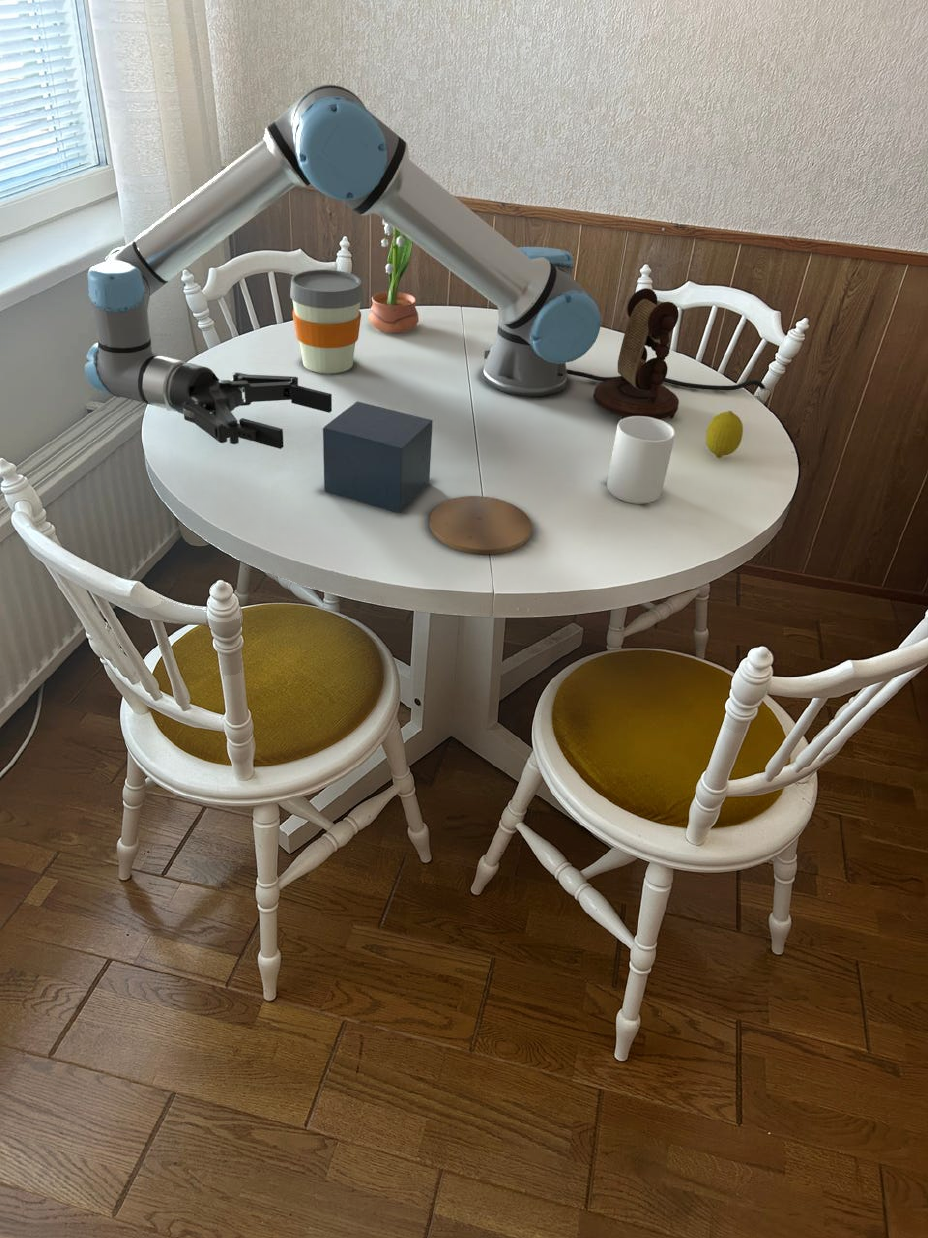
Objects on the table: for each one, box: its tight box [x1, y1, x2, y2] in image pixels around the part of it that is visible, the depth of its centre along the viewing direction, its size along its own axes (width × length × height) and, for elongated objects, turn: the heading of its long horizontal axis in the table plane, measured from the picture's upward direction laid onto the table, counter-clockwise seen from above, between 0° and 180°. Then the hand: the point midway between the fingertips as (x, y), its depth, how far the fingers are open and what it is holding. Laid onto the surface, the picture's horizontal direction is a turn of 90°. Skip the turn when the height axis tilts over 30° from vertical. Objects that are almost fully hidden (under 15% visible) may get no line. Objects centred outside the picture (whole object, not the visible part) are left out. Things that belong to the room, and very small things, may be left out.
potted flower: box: [368, 219, 419, 334], centre depth 177 cm, size 12×10×25 cm
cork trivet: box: [429, 495, 532, 555], centre depth 127 cm, size 14×14×1 cm
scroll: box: [592, 287, 680, 420], centre depth 156 cm, size 15×15×20 cm
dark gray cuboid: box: [322, 401, 434, 514], centre depth 131 cm, size 12×10×10 cm
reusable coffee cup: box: [289, 269, 363, 374], centre depth 164 cm, size 12×12×15 cm
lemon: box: [705, 410, 744, 459], centre depth 147 cm, size 6×6×8 cm
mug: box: [606, 416, 676, 505], centre depth 136 cm, size 12×8×10 cm
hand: (307, 420), depth 132 cm, fingers open, 13 cm apart
